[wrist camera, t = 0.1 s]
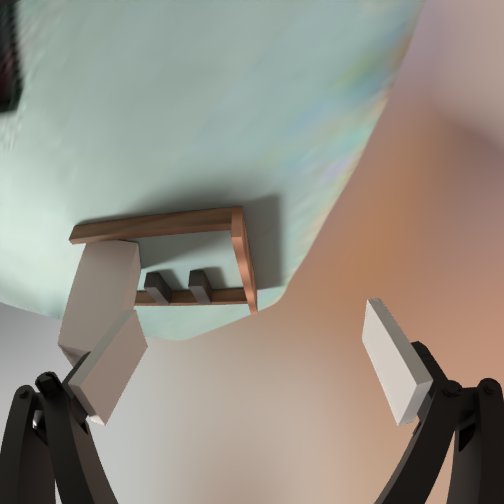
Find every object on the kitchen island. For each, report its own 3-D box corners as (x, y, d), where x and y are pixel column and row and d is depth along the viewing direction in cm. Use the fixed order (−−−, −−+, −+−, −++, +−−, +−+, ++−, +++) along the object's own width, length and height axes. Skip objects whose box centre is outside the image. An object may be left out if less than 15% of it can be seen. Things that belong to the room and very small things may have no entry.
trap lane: (74, 226, 30) (63, 251, 28) (241, 206, 29) (241, 236, 26) (133, 294, 46) (129, 314, 43) (257, 290, 44) (257, 313, 42)
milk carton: (98, 262, 37) (71, 386, 26) (89, 234, 32) (51, 377, 21) (141, 269, 39) (121, 398, 28) (138, 241, 33) (110, 393, 22)
